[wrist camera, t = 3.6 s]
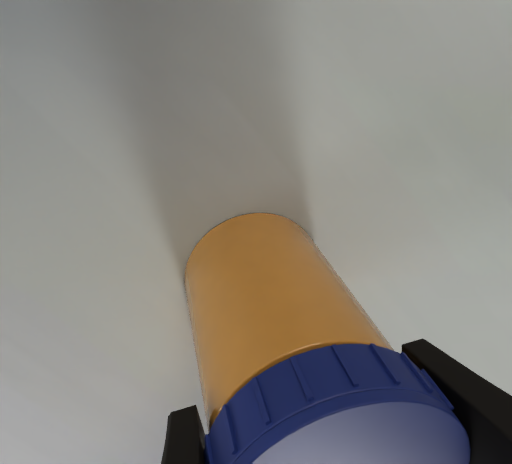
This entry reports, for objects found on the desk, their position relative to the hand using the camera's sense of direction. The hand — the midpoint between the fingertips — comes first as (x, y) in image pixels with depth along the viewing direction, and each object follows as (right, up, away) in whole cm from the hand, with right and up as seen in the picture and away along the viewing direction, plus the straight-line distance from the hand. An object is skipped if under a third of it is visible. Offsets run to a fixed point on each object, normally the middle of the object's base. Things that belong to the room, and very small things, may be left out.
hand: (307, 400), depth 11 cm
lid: (+1, -1, -2) cm, 2 cm away
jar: (-1, +3, +5) cm, 6 cm away
